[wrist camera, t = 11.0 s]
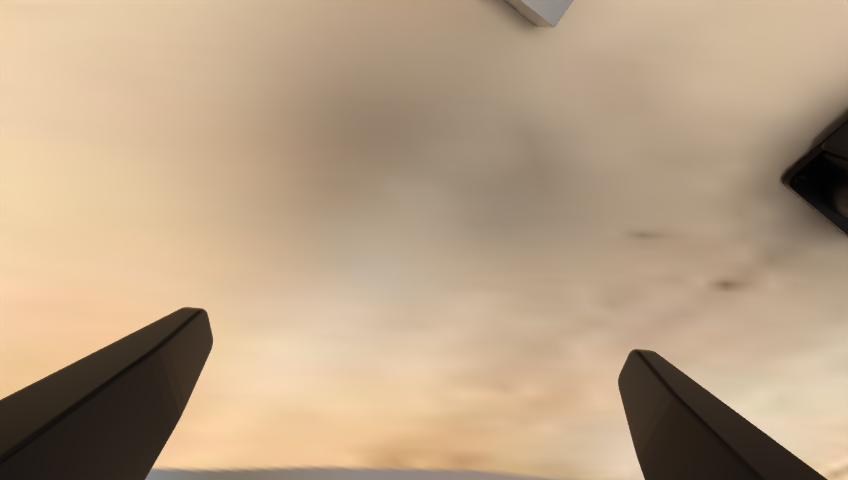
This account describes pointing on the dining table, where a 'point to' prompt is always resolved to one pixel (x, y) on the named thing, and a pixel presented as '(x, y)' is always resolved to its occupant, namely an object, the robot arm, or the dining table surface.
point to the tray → (541, 10)
